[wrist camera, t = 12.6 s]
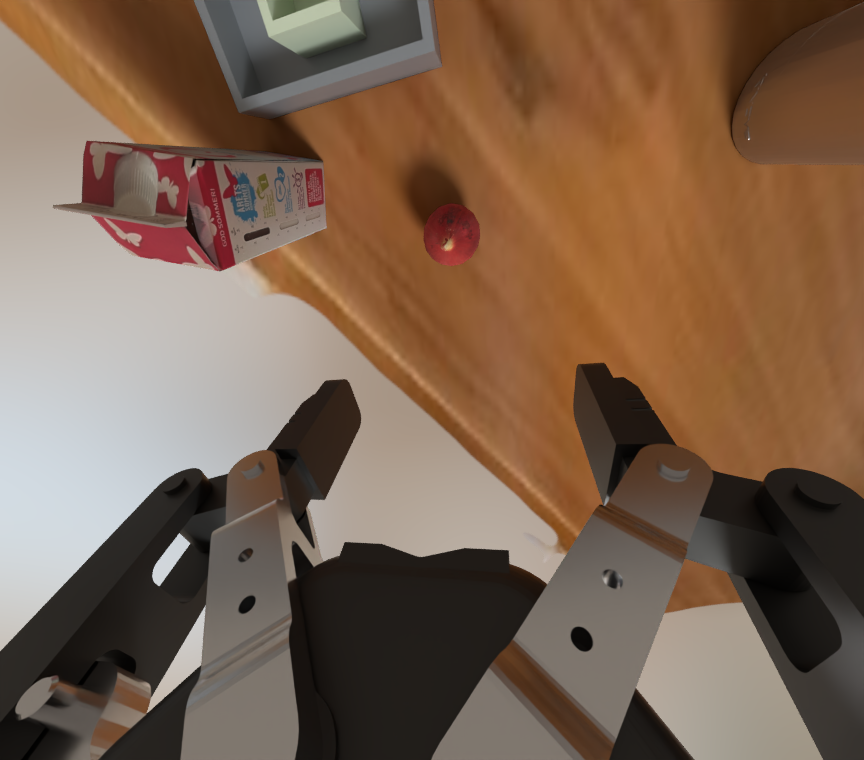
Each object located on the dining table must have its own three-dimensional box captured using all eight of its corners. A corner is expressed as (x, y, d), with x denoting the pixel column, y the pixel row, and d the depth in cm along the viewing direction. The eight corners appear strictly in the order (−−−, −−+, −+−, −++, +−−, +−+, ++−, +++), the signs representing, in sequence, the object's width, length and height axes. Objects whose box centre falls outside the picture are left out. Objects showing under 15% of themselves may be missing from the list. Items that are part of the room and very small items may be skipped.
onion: (432, 196, 35) (420, 203, 28) (485, 204, 34) (485, 214, 28) (426, 252, 38) (414, 270, 31) (474, 260, 38) (472, 280, 31)
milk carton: (262, 151, 35) (18, 136, 16) (323, 161, 34) (142, 157, 16) (272, 218, 38) (82, 267, 20) (326, 228, 38) (183, 286, 20)
